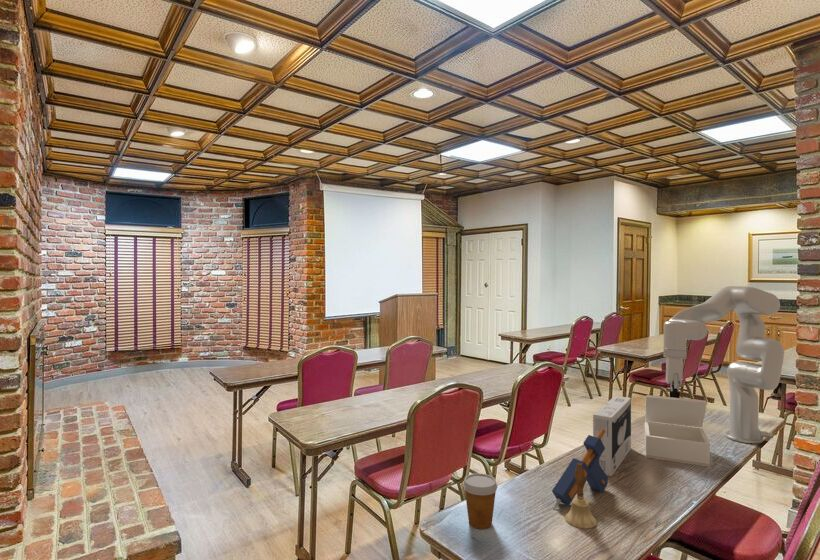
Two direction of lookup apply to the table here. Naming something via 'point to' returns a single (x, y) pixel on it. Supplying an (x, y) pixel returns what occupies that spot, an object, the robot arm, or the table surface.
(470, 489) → the disposable coffee cup
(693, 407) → the lid
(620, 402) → the packaging
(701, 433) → the box
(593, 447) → the glue gun
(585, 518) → the hand bell
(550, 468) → the table surface
